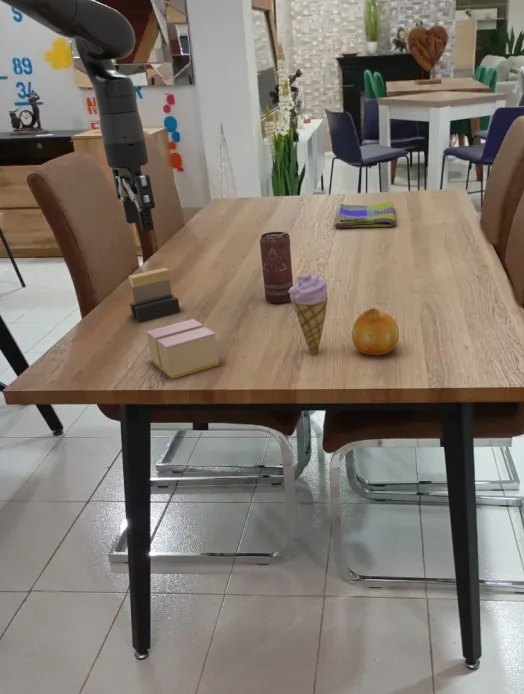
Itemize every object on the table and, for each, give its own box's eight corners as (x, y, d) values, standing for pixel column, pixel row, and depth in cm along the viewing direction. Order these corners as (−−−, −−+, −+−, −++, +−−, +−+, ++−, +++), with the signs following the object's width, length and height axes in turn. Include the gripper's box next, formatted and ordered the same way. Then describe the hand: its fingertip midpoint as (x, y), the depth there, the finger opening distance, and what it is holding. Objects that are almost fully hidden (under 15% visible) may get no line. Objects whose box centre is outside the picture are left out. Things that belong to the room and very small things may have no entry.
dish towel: (395, 208, 217) (395, 199, 215) (395, 228, 196) (395, 218, 194) (339, 210, 218) (339, 201, 217) (333, 230, 198) (333, 220, 196)
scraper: (140, 320, 143) (131, 278, 138) (136, 317, 144) (128, 275, 140) (176, 311, 146) (169, 269, 142) (172, 308, 148) (165, 267, 143)
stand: (139, 322, 142) (137, 308, 140) (132, 316, 145) (129, 303, 143) (180, 311, 146) (178, 298, 144) (172, 306, 149) (170, 293, 147)
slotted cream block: (171, 379, 117) (166, 346, 114) (152, 362, 124) (146, 331, 121) (219, 364, 121) (215, 333, 118) (198, 349, 128) (193, 318, 125)
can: (300, 299, 148) (295, 234, 141) (274, 306, 145) (268, 240, 138) (286, 292, 153) (281, 228, 146) (260, 299, 150) (254, 234, 143)
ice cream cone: (293, 360, 121) (286, 277, 114) (293, 346, 126) (286, 266, 119) (331, 357, 121) (326, 274, 114) (329, 344, 127) (325, 263, 119)
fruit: (345, 349, 118) (368, 309, 115) (342, 335, 125) (364, 296, 122) (386, 370, 120) (410, 331, 117) (382, 355, 127) (404, 317, 124)
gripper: (91, 137, 131) (110, 224, 139) (116, 144, 121) (134, 237, 129) (129, 132, 135) (145, 217, 143) (157, 139, 124) (172, 229, 132)
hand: (140, 226), depth 136 cm, fingers open, 8 cm apart
